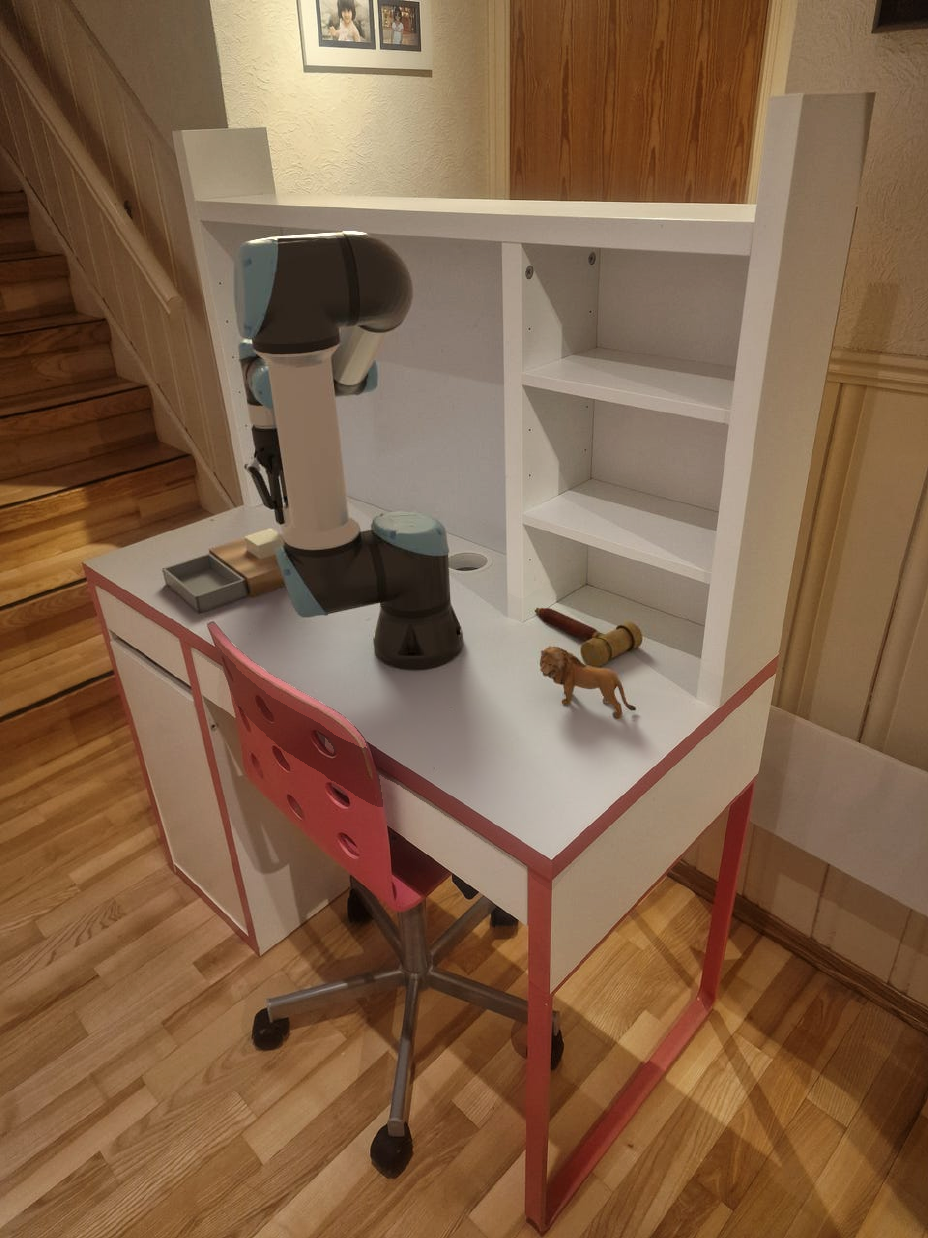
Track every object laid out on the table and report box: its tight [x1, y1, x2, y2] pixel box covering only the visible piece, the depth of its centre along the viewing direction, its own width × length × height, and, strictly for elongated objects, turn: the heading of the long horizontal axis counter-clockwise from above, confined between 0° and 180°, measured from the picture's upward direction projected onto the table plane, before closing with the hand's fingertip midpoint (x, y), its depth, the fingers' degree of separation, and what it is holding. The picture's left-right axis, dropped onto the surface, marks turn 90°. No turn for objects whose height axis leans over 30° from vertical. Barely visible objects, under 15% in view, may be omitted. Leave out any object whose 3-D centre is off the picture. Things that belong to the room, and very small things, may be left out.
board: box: [208, 537, 286, 598], centre depth 170 cm, size 18×13×4 cm
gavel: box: [534, 607, 643, 668], centre depth 144 cm, size 21×5×10 cm
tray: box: [161, 552, 249, 614], centre depth 164 cm, size 16×10×4 cm, turn 39°
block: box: [243, 527, 284, 560], centre depth 169 cm, size 6×6×3 cm
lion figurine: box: [539, 646, 637, 719], centre depth 125 cm, size 15×5×9 cm, turn 71°
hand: (288, 536), depth 172 cm, fingers closed
